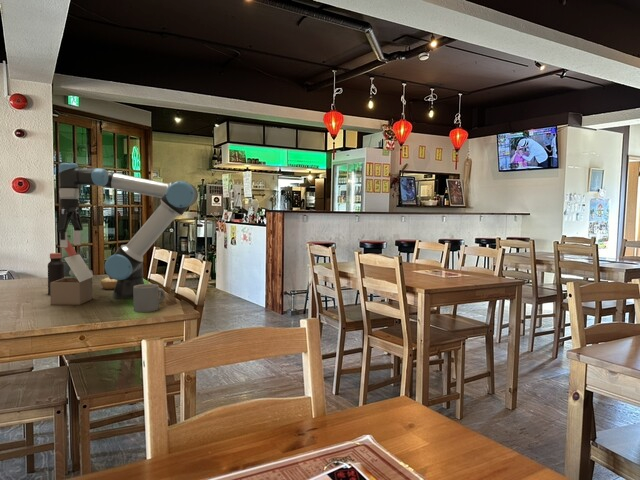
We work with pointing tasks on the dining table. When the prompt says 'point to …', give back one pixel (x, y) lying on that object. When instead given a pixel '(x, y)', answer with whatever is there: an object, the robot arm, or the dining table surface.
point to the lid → (77, 264)
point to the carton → (70, 291)
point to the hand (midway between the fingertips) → (70, 246)
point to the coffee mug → (147, 297)
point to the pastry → (108, 283)
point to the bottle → (55, 269)
